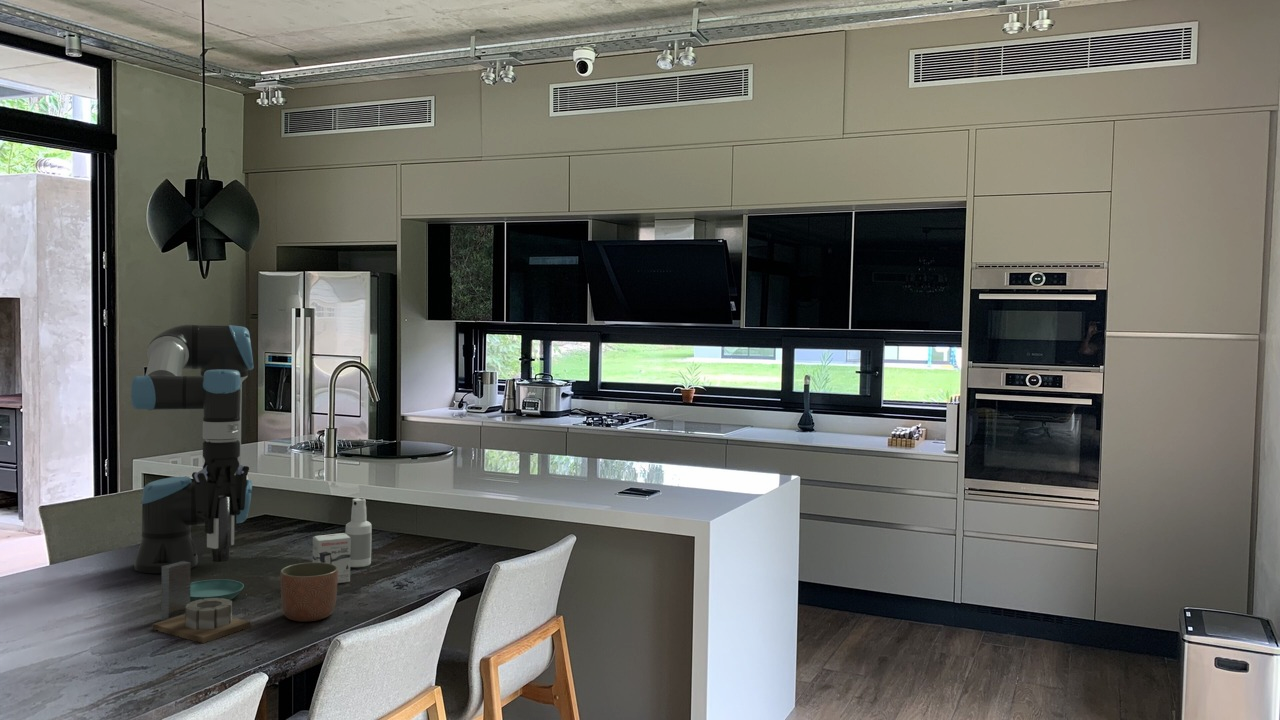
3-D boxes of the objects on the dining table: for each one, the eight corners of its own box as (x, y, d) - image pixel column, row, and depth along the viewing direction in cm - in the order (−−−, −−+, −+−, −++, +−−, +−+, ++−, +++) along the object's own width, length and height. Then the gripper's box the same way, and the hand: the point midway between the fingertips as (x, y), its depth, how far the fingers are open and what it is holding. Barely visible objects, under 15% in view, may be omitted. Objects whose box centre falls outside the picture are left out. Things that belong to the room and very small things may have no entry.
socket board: (152, 629, 206) (152, 605, 206) (200, 614, 217) (200, 592, 217) (203, 643, 199) (203, 618, 199) (250, 627, 210) (250, 603, 210)
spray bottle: (339, 565, 261) (340, 500, 260) (356, 560, 267) (357, 496, 267) (360, 568, 259) (361, 502, 258) (376, 563, 265) (377, 498, 264)
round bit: (208, 560, 211) (208, 497, 210) (221, 557, 214) (222, 494, 213) (219, 562, 209) (220, 499, 209) (233, 559, 212) (233, 496, 212)
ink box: (316, 586, 242) (317, 540, 241) (311, 581, 246) (312, 535, 245) (350, 582, 246) (351, 536, 246) (345, 577, 251) (345, 532, 250)
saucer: (211, 611, 221) (211, 599, 221) (162, 602, 226) (162, 591, 226) (257, 594, 234) (257, 583, 234) (210, 586, 240) (210, 576, 239)
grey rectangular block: (168, 621, 212) (168, 567, 211) (161, 619, 213) (161, 566, 212) (190, 614, 217) (190, 562, 216) (183, 613, 218) (183, 560, 217)
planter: (304, 629, 210) (305, 580, 209) (268, 618, 216) (268, 570, 216) (348, 614, 220) (349, 568, 220) (312, 604, 227) (313, 559, 226)
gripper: (201, 445, 201) (200, 555, 202) (263, 437, 216) (262, 540, 217) (176, 442, 205) (176, 551, 206) (240, 435, 220) (239, 536, 221)
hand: (220, 545), depth 211 cm, fingers closed on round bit, 3 cm apart
